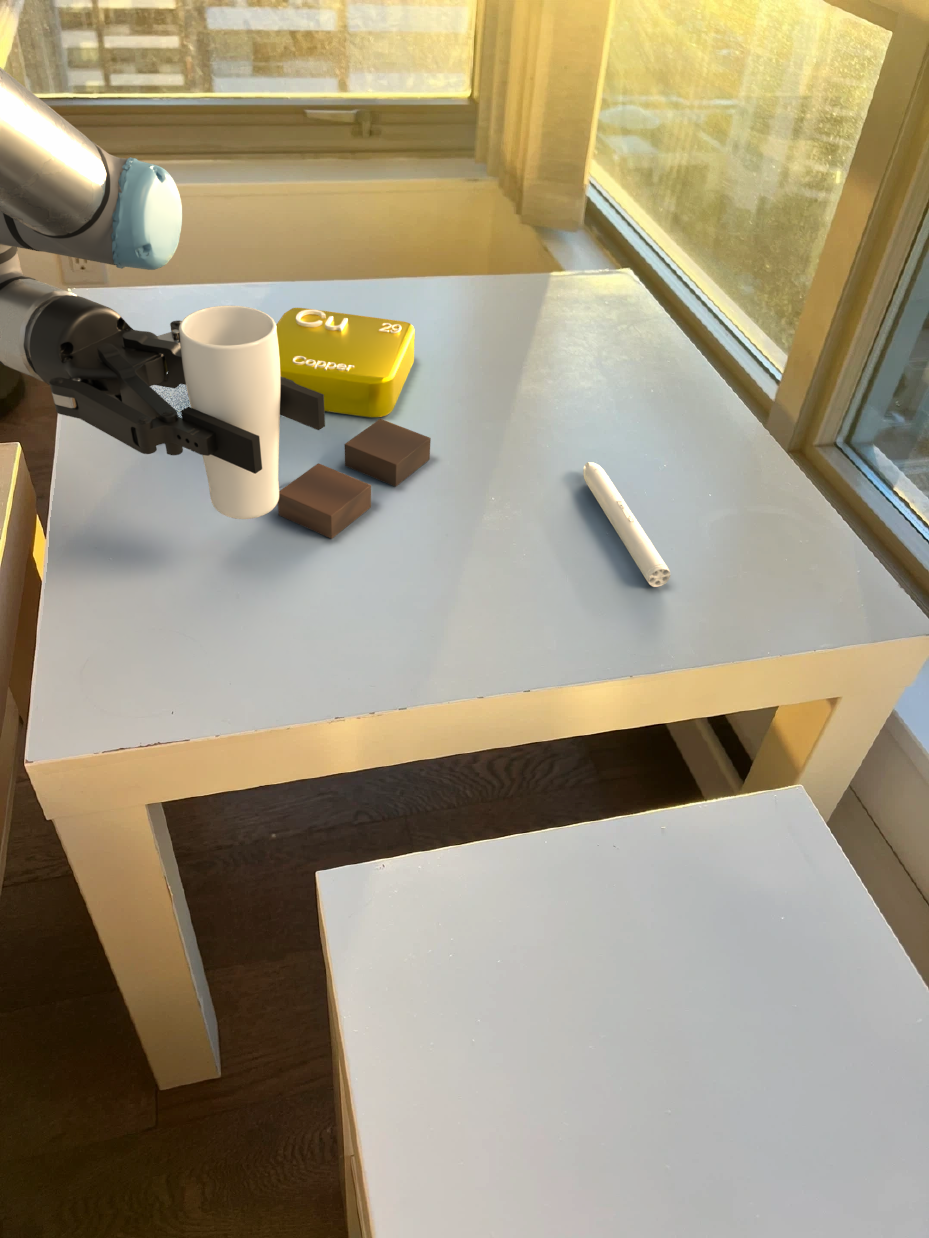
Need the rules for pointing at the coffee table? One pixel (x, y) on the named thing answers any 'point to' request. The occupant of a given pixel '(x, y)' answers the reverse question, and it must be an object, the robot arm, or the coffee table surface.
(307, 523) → the walnut block near
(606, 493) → the marker
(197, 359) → the drinking glass
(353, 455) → the walnut block far
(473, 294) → the coffee table surface
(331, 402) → the element tile
